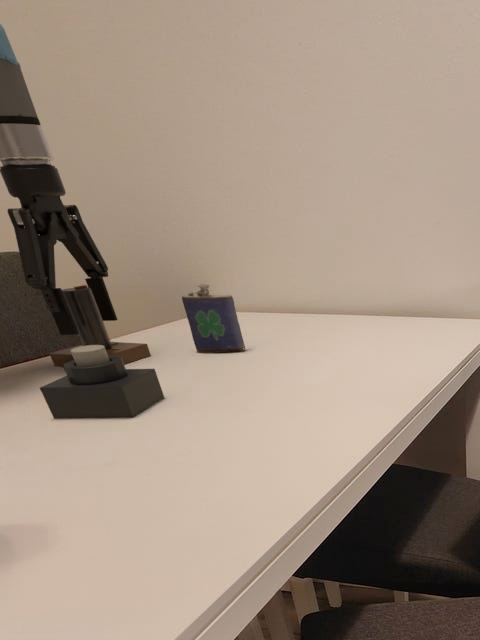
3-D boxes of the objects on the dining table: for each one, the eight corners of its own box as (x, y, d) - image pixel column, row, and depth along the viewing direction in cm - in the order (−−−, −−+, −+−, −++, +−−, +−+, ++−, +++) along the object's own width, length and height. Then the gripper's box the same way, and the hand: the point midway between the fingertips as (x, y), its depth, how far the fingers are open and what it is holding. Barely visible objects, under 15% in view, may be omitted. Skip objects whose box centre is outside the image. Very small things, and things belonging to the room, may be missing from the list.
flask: (247, 349, 109) (231, 282, 102) (241, 352, 106) (224, 284, 100) (200, 349, 110) (180, 283, 103) (193, 353, 107) (172, 285, 101)
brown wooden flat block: (54, 365, 102) (48, 352, 101) (99, 352, 109) (94, 339, 108) (108, 369, 99) (103, 355, 98) (151, 355, 106) (146, 342, 105)
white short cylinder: (70, 369, 77) (63, 352, 75) (88, 361, 80) (81, 345, 78) (100, 368, 76) (93, 351, 75) (116, 361, 80) (110, 344, 78)
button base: (53, 419, 78) (31, 371, 75) (91, 399, 85) (73, 354, 82) (133, 418, 78) (114, 369, 74) (164, 398, 85) (149, 353, 81)
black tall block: (98, 351, 101) (74, 289, 95) (79, 350, 102) (53, 288, 96) (118, 345, 104) (95, 285, 98) (98, 344, 105) (75, 284, 99)
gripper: (51, 165, 97) (107, 314, 110) (-58, 163, 78) (24, 342, 92) (95, 164, 96) (145, 314, 110) (-5, 161, 78) (70, 341, 91)
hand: (90, 327), depth 101 cm, fingers open, 11 cm apart
